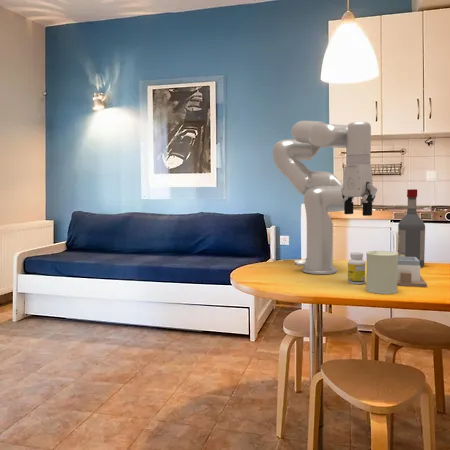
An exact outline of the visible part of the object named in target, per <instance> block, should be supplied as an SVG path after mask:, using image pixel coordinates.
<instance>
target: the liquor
mask: <svg viewBox="0 0 450 450" xmlns="http://www.w3.org/2000/svg"><path fill="white" fill-rule="evenodd" d="M406 191H407V192H406V198H407V210H406V214H405V215H404V216H403V217H402V218H401V219H400V221H399V222H398V224H397V226H398V227H397V228H398V229H397V253H398V257H416V258H417V259H418V260H419V261H420V268H424V266H425V253H426V252H425V250H426V248H425V245H426V244H425V243H426V225H425V222H424V221H423V220H422V218H421V217H420V216H419V214H418V212H417V198H418V189H407V190H406Z"/></svg>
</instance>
